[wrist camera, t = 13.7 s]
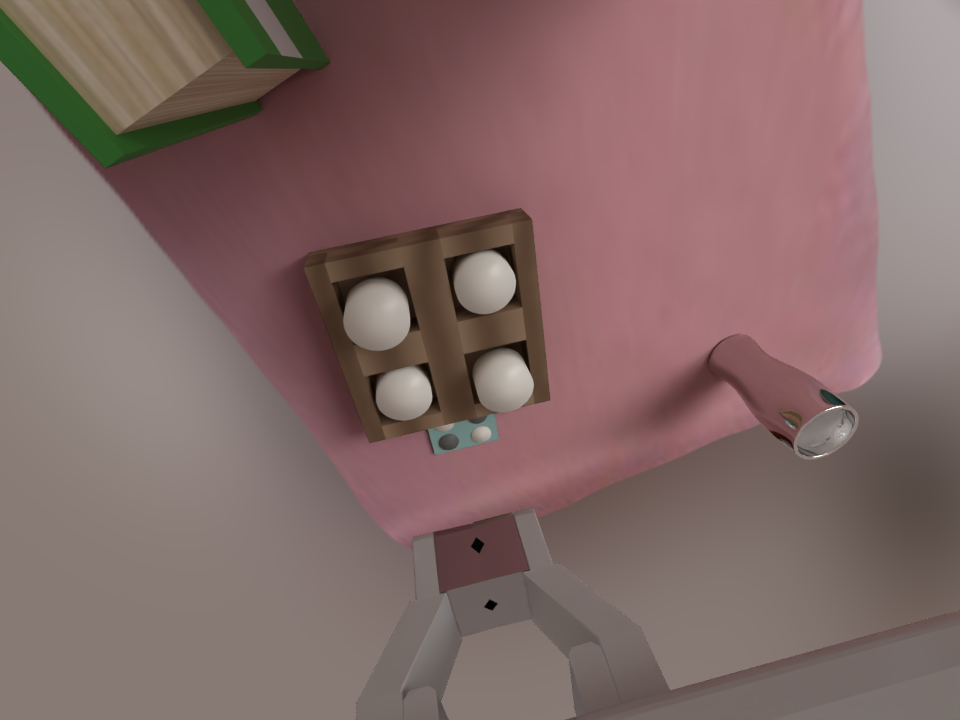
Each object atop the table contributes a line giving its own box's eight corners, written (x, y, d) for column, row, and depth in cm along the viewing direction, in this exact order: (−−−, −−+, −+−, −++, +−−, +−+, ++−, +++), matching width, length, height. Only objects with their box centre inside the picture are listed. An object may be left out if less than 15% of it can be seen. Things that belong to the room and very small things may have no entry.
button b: (400, 270, 43) (401, 285, 40) (414, 325, 46) (416, 342, 43) (337, 284, 42) (334, 299, 40) (356, 338, 45) (354, 357, 42)
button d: (423, 352, 50) (425, 369, 47) (434, 394, 53) (437, 413, 50) (369, 364, 50) (369, 382, 47) (384, 406, 53) (384, 425, 50)
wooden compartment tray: (520, 208, 45) (531, 219, 42) (540, 380, 56) (550, 400, 53) (309, 252, 44) (303, 267, 41) (370, 420, 55) (369, 443, 51)
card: (491, 398, 56) (492, 401, 56) (498, 437, 59) (499, 440, 59) (423, 414, 56) (424, 417, 55) (434, 452, 59) (435, 455, 58)
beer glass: (697, 380, 60) (780, 463, 47) (716, 330, 57) (811, 405, 44) (746, 379, 61) (839, 459, 49) (767, 330, 58) (874, 403, 45)
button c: (522, 342, 49) (530, 359, 46) (527, 386, 52) (536, 405, 49) (467, 354, 48) (473, 372, 45) (476, 398, 51) (482, 418, 48)
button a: (503, 239, 45) (511, 250, 43) (511, 292, 48) (519, 307, 46) (445, 251, 45) (449, 263, 42) (456, 305, 48) (461, 320, 45)
